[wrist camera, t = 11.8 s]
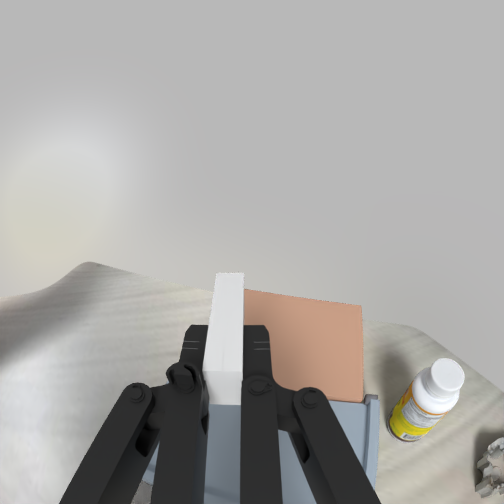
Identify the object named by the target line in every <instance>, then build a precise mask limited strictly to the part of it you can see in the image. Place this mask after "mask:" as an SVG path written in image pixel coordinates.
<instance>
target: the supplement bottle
mask: <svg viewBox="0 0 504 504" xmlns="http://www.w3.org/2000/svg"><path fill="white" fill-rule="evenodd" d="M463 383H464V372H463V370H462V368H461V366H460V365H459V364H458V363H457V362H455V361H454V360H451V359H448V358H441V359H438V360H436V361H435V362H434V363H433V364H432V366H431V367H428V368H425V369H423V370H422V371H420V372H419V373H418V374H417V376H416V377H415V379H414V380H413V382H412V383H411V385H410V386H409V388H408V389H407V390H406V392H405V393H404V395H403V396H402V398H401V399H400V400H399V402H398V403H397V404H396V406H395V407H394V409H393V410H392V411H391V413H390V415H389V417H388V422H387V424H388V430H389V432H390V434H391V435H392V436H393V437H394V438H395V439H396V440H398V441H400V442H403V443H412V442H415V441H418V440H419V439H421V438H422V437H423V436H424V435H426V434H427V433H428V432H429V431H430V430H431V429H432V428H433V427H434V426H435V425H436V424H437V423H438V422H439V421H440V420H441V419H442V418H443V417H444V416H445V415H446V414H447V413H448V412H449V411H450V410H451V409H452V408H453V406H454V405H455V404H456V402H457V401H458V398H459V392H460V387H461V386H462V385H463Z"/></svg>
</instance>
